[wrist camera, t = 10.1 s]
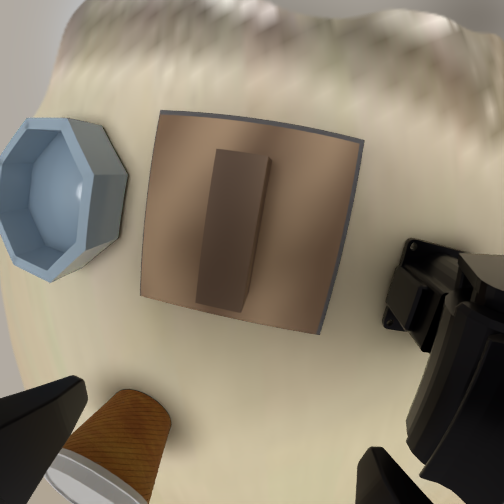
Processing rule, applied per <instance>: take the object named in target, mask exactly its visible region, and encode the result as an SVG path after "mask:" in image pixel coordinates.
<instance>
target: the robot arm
mask: <svg viewBox="0 0 504 504" xmlns="http://www.w3.org/2000/svg"><path fill="white" fill-rule="evenodd" d="M412 243H414V244H415V247H414V248H413V249H411V248H410V246H411V244H412ZM386 303H387V307H386V310H385V313H384V316H383V319H382V324H383V326H384V327H385V328H386V329H391V330H398V331H405V332H409V333H410V335H411V336H412V338H413V339H414V340H415V342H416V343H417V345H418V346H419V348H420V349H421V351H422V352H428V353H429V354H430V356H429V359H428V362H427V365H426V368H425V371H424V374H423V377H422V379H421V382H420V385H419V388H418V390H417V393H416V395H415V398H414V400H413V403H412V405H411V408H410V410H409V413H408V416H407V419H406V427H407V435H408V438H407V440H406V443H407V445H408V446H409V448H410V450H411V452H412V453H413V454H414V455H415V456H416V457H417V458H418V459H419V460H420V461H421V462H422V463H423V464H425V466H424V468H423V469H422V471H421V472H420V474H419V476H420V477H421V478H423V479H426V480H429V481H433V482H436V483H439V484H441V485H443V486H444V487H446V488H448V489H450V490H452V491H453V492H454V493H455V494H456V495H457V496H459V497H460V498H461V499H462V500H463V501H464V502H465V503H466V504H504V255H489V254H471V253H467V252H464V251H460V250H457V249H453V248H449V247H446V246H442V245H438V244H434V243H431V242H427V241H423V240H419V239H415V238H410V239H408V240H407V241H406V243H405V247H404V251H403V254H402V258H401V262H400V265H399V266H398V267H397V268H396V269H395V273H394V276H393V280H392V283H391V286H390V289H389V293H388V296H387V299H386ZM388 320H392V321H391V322H390V323H388V324H387V321H388ZM87 401H88V395H87V391H86V386H85V382H84V380H83V379H81V378H79V377H77V376H75V375H71V376H68V377H65V378H62V379H59V380H56V381H53V382H50V383H47V384H44V385H41V386H38V387H35V388H32V389H29V390H26V391H23V392H20V393H16V394H13V395H10V396H6V397H3V398H0V504H27V502H28V501H29V499H30V497H31V496H32V494H33V492H34V491H35V489H36V488H37V486H38V484H39V483H40V481H41V480H42V478H43V477H44V475H45V473H46V472H47V470H48V469H49V467H50V466H51V464H52V463H53V461H54V460H55V458H56V456H57V455H58V453H59V452H60V450H61V449H62V447H63V446H64V444H65V443H66V441H67V440H68V438H69V437H70V435H71V433H72V431H73V429H74V427H75V425H76V423H77V421H78V419H79V417H80V415H81V413H82V412H83V410H84V408H85V406H86V404H87ZM355 504H433V503H432V502H431V500H430V499H429V498H428V497H427V496H426V495H425V494H424V493H423V492H422V491H421V490H420V488H419V487H418V486H417V485H416V484H415V483H414V482H413V481H412V480H411V478H410V477H409V476H408V475H407V474H406V473H405V472H404V471H403V470H402V468H401V467H400V466H399V465H398V464H397V463H396V462H395V461H394V459H393V458H392V457H391V456H390V455H389V454H388V453H387V451H386V450H385V449H384V448H383V447H370V448H368V449H367V451H366V452H365V454H364V455H363V457H362V458H361V459H360V461H359V463H358V466H357V485H356V500H355Z"/></svg>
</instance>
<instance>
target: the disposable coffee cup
mask: <svg viewBox="0 0 504 504" xmlns="http://www.w3.org/2000/svg"><path fill="white" fill-rule="evenodd" d="M170 427H171V420H170V417H169V415H168V413H167V412H166V410H165V409H164V408H163V407H162V406H161V405H160V404H159V403H158V402H157V401H155V400H154V399H152V398H151V397H149V396H148V395H146V394H143V393H141V392H138V391H135V390H121V391H119V392H118V393H116V394H115V395H114V396H113V397H112V398H111V399H110V400H109V401H108V402H107V403H105V404H104V405H103V406H102V407H101V408H100V409H99V410H98V411H97V412H96V413H94V414H93V415H92V416H91V417H90V418H89V419H88V420H87V421H86V422H85V423H83V424H82V425H81V426H80V427H79V428H78V429H77V430H76V431H75V432H73V434H71V435H70V437H69V438H68V440H67V441H66V443H65V444H64V446H63V447H62V449H61V450H60V452H59V453H58V455H57V456H56V458H55V460H54V461H53V463H52V464H51V466H50V467H49V469H48V470H47V472H46V473H45V475H44V477H45V479H46V480H47V481H48V482H49V484H50V485H51V486H52V487H53V488H54V489H55V490H56V491H57V492H58V493H60V494H61V495H62V496H63V497H64V498H65V499H67V500H68V501H69V502H70V503H72V504H149V501H150V498H151V495H152V490H153V486H154V484H155V479H156V476H157V473H158V468H159V464H160V461H161V458H162V454H163V451H164V448H165V444H166V440H167V437H168V434H169V430H170Z"/></svg>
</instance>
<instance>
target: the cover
mask: <svg viewBox="0 0 504 504" xmlns="http://www.w3.org/2000/svg"><path fill="white" fill-rule="evenodd" d="M358 151H359V143H355V142H351V141H347V140H343V139H339V138H334V137H330V136H325V135H320V134H316V133H311V132H306V131H300V130H295V129H289V128H284V127H278V126H271V125H265V124H258V123H251V122H244V121H235V120H227V119H217V118H207V117H195V116H180V115H161V114H160V118H159V123H158V129H157V134H156V140H155V146H154V153H153V159H152V166H151V173H150V181H149V189H148V197H147V207H146V217H145V228H144V240H143V254H142V273H141V296H144V297H147V298H151V299H155V300H159V301H162V302H166V303H170V304H174V305H178V306H182V307H186V308H190V309H194V310H199V311H203V312H207V313H211V314H216V315H220V316H225V317H229V318H234V319H238V320H243V321H248V322H253V323H258V324H263V325H268V326H273V327H278V328H283V329H289V330H294V331H300V332H306V333H311V334H316V333H317V330H318V326H319V323H320V320H321V316H322V313H323V309H324V305H325V302H326V298H327V294H328V291H329V287H330V283H331V279H332V275H333V271H334V267H335V263H336V259H337V255H338V251H339V247H340V242H341V238H342V234H343V229H344V225H345V220H346V215H347V210H348V206H349V201H350V196H351V190H352V185H353V180H354V174H355V169H356V163H357V157H358Z"/></svg>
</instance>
